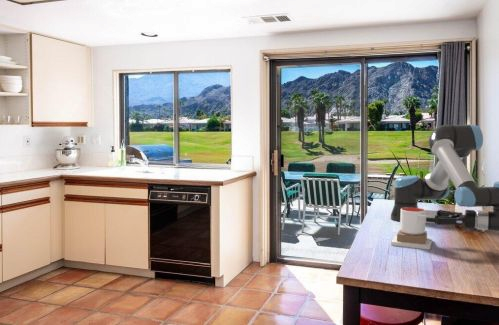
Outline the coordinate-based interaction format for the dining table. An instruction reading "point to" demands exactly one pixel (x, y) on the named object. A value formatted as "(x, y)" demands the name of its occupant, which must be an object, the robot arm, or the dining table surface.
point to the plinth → (413, 245)
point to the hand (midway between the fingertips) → (418, 215)
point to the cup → (411, 221)
